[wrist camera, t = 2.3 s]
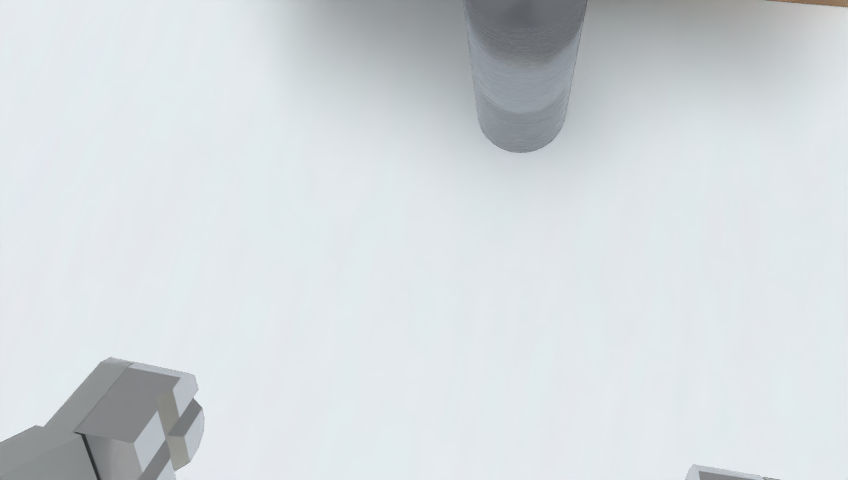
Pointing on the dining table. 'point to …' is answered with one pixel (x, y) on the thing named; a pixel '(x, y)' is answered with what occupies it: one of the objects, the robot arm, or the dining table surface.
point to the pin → (523, 67)
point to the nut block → (819, 2)
